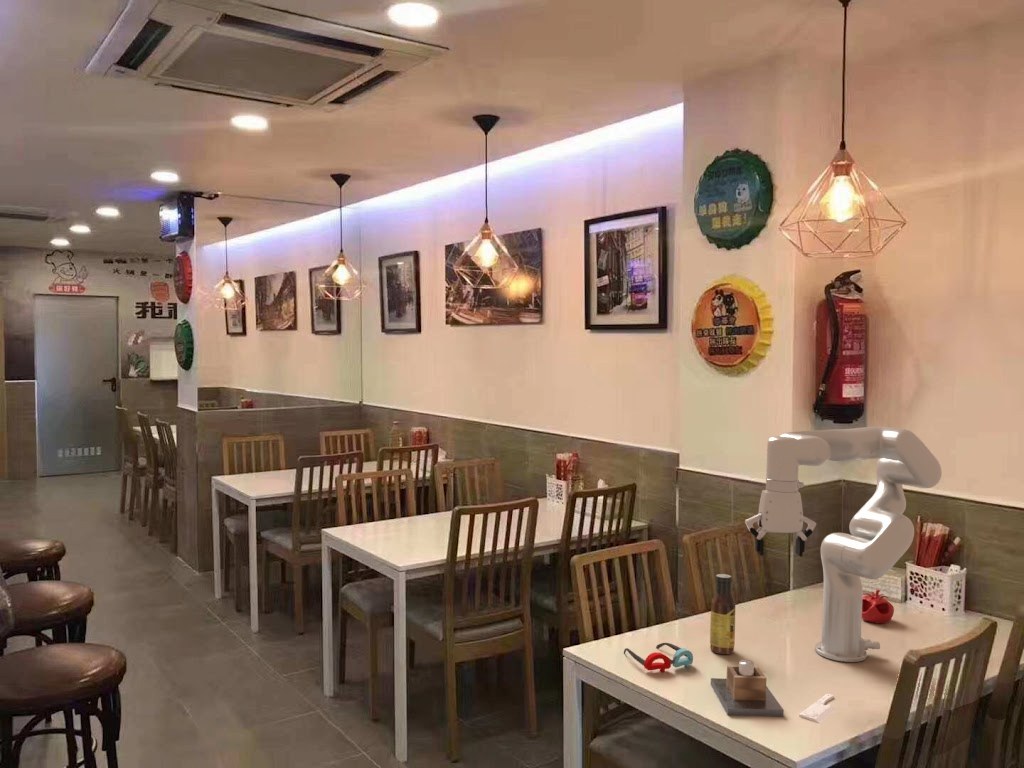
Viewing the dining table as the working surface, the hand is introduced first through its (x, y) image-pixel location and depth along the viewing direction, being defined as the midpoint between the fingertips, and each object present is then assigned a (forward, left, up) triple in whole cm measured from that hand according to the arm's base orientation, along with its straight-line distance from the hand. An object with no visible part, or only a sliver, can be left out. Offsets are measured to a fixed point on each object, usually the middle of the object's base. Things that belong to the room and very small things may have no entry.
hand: (779, 554), depth 201 cm
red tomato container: (-41, -38, -29) cm, 63 cm away
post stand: (+13, +20, -28) cm, 37 cm away
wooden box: (+13, +20, -27) cm, 36 cm away
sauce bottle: (+11, -10, -28) cm, 32 cm away
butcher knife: (-3, +24, -29) cm, 38 cm away
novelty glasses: (+30, -2, -29) cm, 41 cm away
